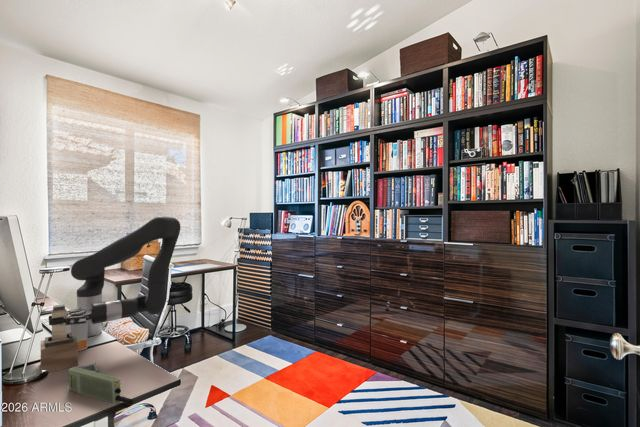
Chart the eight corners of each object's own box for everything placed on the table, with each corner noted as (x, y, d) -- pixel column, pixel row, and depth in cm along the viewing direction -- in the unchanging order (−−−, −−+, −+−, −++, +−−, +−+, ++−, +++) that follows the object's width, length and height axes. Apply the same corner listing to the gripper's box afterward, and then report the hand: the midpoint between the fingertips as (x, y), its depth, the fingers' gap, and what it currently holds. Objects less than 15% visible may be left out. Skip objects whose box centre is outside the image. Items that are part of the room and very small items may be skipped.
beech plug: (51, 337, 122) (51, 305, 122) (65, 334, 125) (65, 303, 124) (52, 340, 119) (52, 308, 119) (66, 337, 121) (66, 306, 121)
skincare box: (70, 354, 130) (70, 322, 130) (65, 351, 133) (65, 320, 132) (88, 348, 136) (88, 318, 136) (82, 346, 138) (82, 316, 138)
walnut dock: (40, 363, 122) (40, 337, 122) (75, 355, 129) (75, 331, 129) (41, 373, 115) (41, 346, 115) (77, 365, 121) (77, 339, 121)
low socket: (69, 373, 115) (69, 369, 115) (95, 366, 120) (96, 363, 120) (70, 381, 109) (70, 378, 109) (99, 374, 114) (99, 371, 114)
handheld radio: (77, 386, 107) (137, 403, 98) (66, 391, 104) (126, 409, 95) (77, 365, 107) (136, 380, 98) (65, 370, 104) (125, 385, 95)
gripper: (103, 297, 136) (48, 305, 125) (109, 305, 125) (49, 314, 114) (103, 316, 136) (48, 326, 125) (109, 326, 125) (49, 337, 114)
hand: (49, 320), depth 120 cm, fingers closed on beech plug, 4 cm apart
